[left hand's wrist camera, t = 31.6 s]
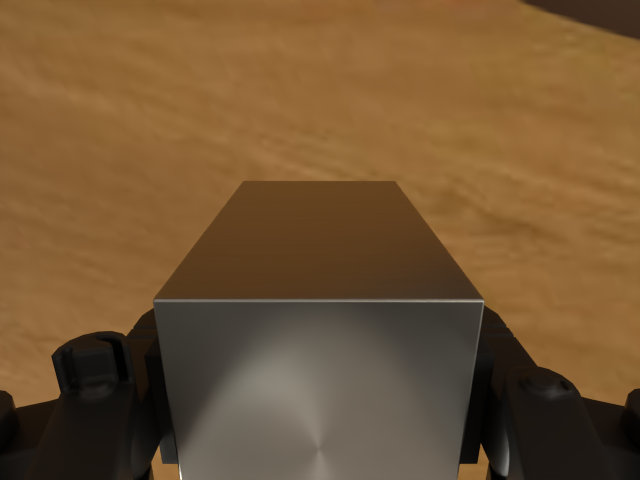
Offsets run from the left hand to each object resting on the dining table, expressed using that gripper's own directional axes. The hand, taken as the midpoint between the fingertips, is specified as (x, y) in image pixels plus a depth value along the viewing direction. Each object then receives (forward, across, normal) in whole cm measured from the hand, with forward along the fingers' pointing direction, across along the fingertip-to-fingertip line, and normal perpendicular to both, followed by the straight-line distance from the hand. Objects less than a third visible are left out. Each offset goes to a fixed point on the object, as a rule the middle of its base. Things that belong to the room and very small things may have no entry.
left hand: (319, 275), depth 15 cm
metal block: (+1, 0, 0) cm, 1 cm away
